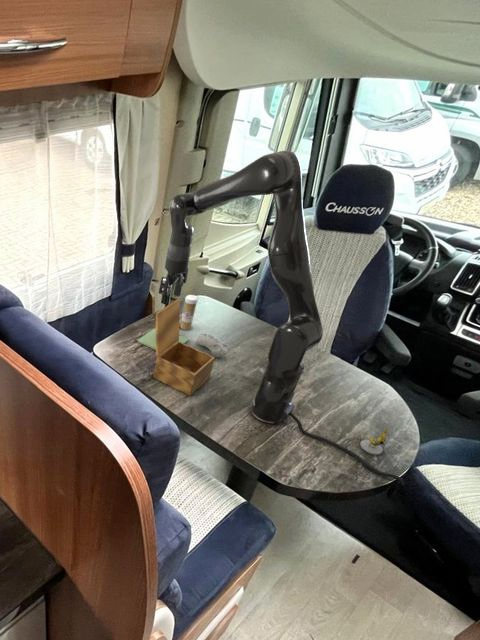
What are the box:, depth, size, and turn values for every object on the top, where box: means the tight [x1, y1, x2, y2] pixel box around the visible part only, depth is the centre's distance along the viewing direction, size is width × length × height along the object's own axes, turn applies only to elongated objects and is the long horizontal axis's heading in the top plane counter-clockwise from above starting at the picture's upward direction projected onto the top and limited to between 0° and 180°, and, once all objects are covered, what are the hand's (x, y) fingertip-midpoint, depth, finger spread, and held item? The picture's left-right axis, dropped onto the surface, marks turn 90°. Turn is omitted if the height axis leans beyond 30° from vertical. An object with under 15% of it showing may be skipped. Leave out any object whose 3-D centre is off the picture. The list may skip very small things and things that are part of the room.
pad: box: [137, 327, 189, 351], centre depth 169 cm, size 14×14×1 cm
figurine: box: [359, 427, 388, 456], centre depth 125 cm, size 6×6×8 cm
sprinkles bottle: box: [179, 294, 199, 331], centre depth 173 cm, size 5×5×14 cm
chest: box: [152, 341, 216, 396], centre depth 149 cm, size 14×13×9 cm
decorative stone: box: [195, 333, 230, 358], centre depth 163 cm, size 13×7×5 cm, turn 39°
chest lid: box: [155, 298, 181, 357], centre depth 146 cm, size 15×13×1 cm
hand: (170, 299), depth 158 cm, fingers open, 8 cm apart
